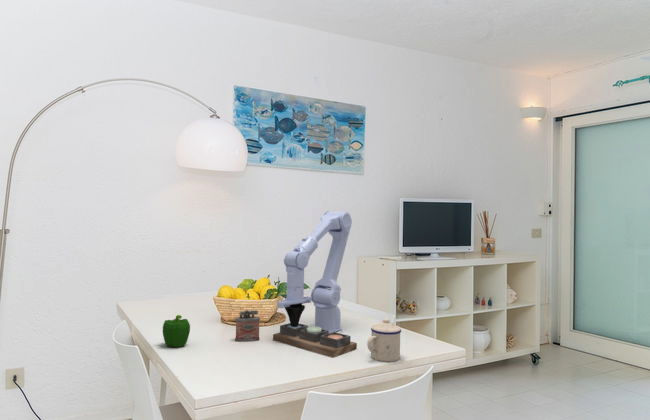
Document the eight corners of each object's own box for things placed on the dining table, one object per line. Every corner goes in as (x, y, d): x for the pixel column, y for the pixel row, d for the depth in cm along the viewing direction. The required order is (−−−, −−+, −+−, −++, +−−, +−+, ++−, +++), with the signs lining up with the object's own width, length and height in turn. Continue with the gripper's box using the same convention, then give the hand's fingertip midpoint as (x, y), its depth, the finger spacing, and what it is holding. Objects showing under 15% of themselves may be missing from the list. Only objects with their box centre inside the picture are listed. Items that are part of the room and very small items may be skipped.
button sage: (313, 330, 160) (313, 325, 160) (324, 333, 156) (324, 328, 156) (303, 333, 156) (303, 328, 156) (314, 336, 153) (314, 330, 153)
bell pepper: (161, 342, 154) (162, 311, 154) (188, 340, 157) (189, 310, 157) (162, 350, 146) (163, 317, 146) (190, 348, 149) (191, 316, 149)
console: (297, 333, 169) (297, 320, 169) (356, 349, 152) (356, 334, 152) (272, 340, 160) (273, 326, 160) (332, 357, 143) (333, 342, 143)
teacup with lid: (384, 351, 151) (385, 314, 151) (406, 358, 144) (407, 320, 144) (357, 358, 143) (358, 319, 143) (378, 366, 136) (379, 325, 136)
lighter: (235, 342, 157) (236, 311, 157) (234, 339, 160) (235, 309, 160) (260, 341, 159) (260, 311, 159) (258, 338, 162) (259, 308, 162)
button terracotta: (334, 339, 154) (334, 333, 154) (345, 342, 151) (346, 336, 151) (324, 342, 150) (324, 336, 150) (336, 345, 147) (336, 339, 147)
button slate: (293, 329, 165) (294, 323, 165) (304, 331, 162) (304, 326, 162) (284, 331, 162) (284, 326, 162) (294, 334, 159) (294, 328, 159)
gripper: (301, 282, 170) (300, 320, 170) (271, 287, 159) (270, 328, 159) (316, 285, 166) (315, 324, 166) (286, 290, 154) (285, 331, 155)
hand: (294, 326), depth 162 cm, fingers closed, pressing on button slate
